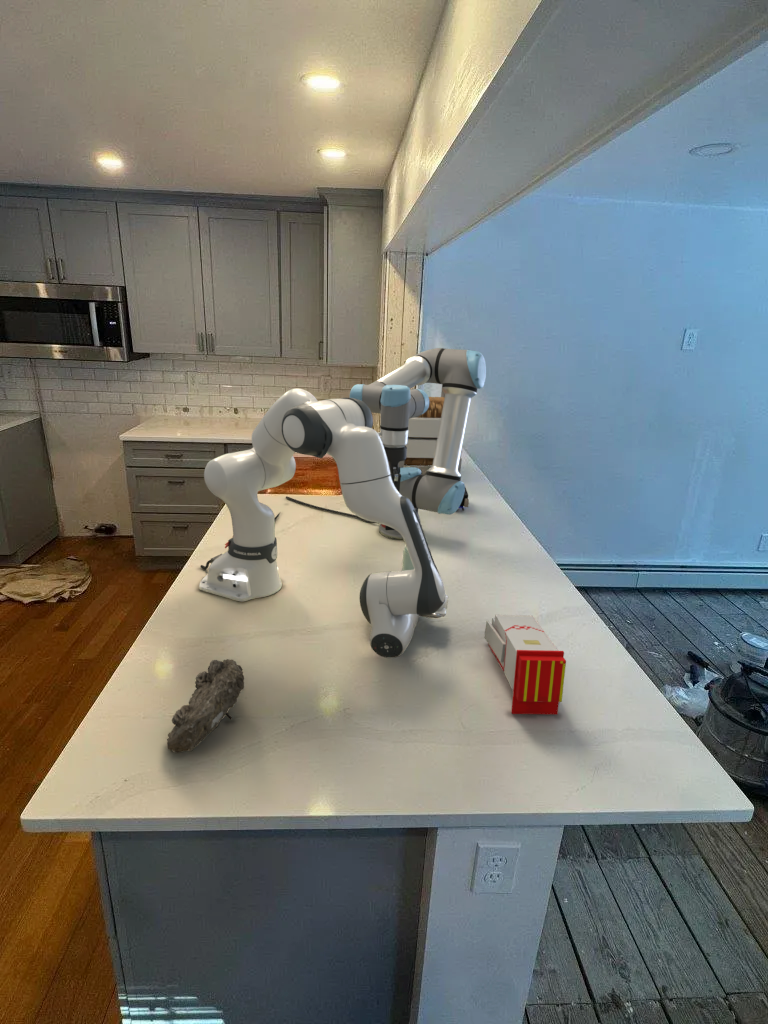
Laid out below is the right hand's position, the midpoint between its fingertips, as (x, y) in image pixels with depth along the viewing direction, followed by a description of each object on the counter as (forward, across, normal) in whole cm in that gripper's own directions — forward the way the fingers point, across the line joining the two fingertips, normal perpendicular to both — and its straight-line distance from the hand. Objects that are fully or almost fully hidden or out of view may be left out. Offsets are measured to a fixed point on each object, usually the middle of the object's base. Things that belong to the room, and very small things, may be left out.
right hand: (388, 526), depth 159 cm
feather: (+17, -56, -31) cm, 66 cm away
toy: (+17, +46, +21) cm, 54 cm away
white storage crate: (+16, -112, +36) cm, 119 cm away
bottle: (+17, +17, +4) cm, 25 cm away
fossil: (+18, +53, -43) cm, 70 cm away
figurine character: (+17, -63, +41) cm, 77 cm away
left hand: (+11, +16, +4) cm, 20 cm away
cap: (-2, 0, 0) cm, 2 cm away
